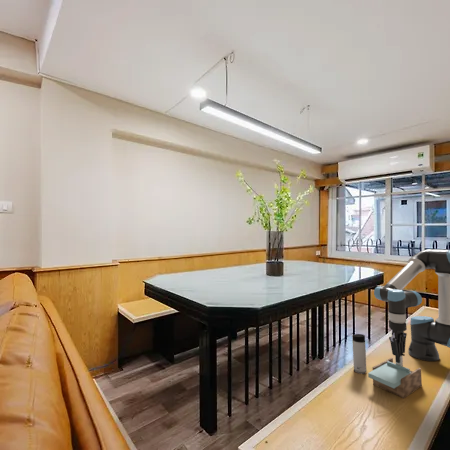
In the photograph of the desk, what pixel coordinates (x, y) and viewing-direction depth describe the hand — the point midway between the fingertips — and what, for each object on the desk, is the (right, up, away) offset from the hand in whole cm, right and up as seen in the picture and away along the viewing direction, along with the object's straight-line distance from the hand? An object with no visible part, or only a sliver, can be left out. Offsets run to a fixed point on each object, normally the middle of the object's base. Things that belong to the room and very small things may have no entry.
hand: (399, 368), depth 136 cm
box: (-2, -7, -2) cm, 8 cm away
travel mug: (-13, -8, +12) cm, 20 cm away
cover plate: (-8, -2, -5) cm, 9 cm away
